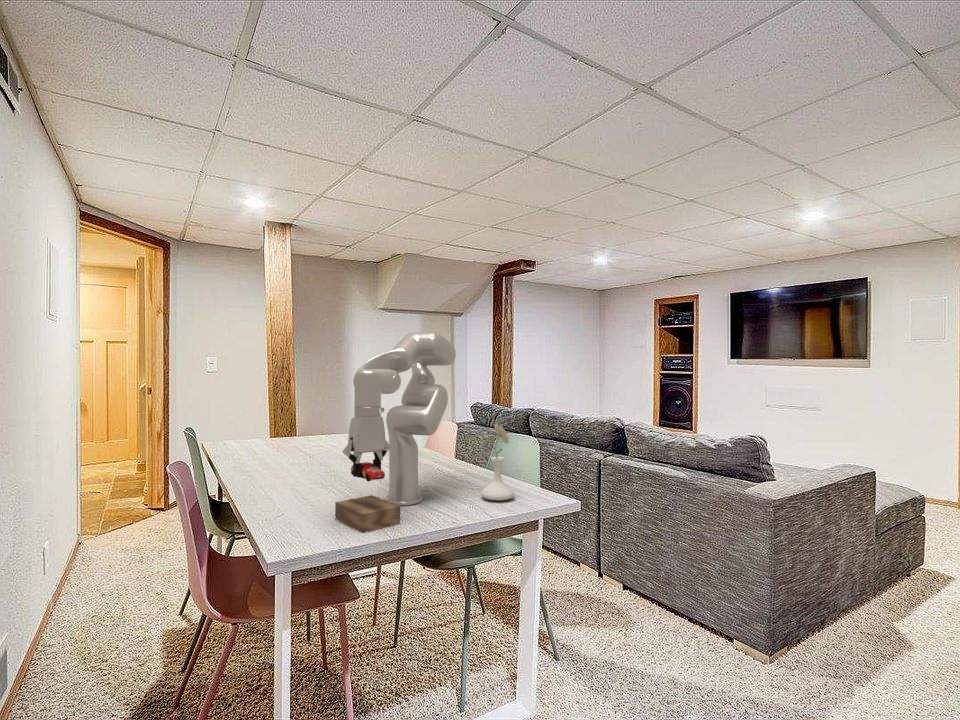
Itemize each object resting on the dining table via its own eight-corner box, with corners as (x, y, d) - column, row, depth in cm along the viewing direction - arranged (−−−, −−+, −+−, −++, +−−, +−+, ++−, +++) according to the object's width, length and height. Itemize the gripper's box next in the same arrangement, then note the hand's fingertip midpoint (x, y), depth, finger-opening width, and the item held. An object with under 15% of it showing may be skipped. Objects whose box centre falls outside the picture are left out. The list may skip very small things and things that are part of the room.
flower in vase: (515, 503, 167) (515, 427, 167) (480, 503, 167) (481, 426, 167) (512, 493, 180) (513, 422, 180) (480, 493, 180) (480, 422, 180)
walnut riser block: (371, 511, 157) (371, 495, 157) (400, 523, 145) (400, 506, 145) (335, 519, 149) (335, 502, 149) (362, 532, 137) (362, 514, 137)
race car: (387, 480, 144) (388, 466, 144) (370, 483, 140) (370, 468, 140) (365, 472, 154) (365, 459, 154) (348, 475, 150) (348, 461, 150)
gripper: (386, 410, 156) (386, 469, 156) (334, 413, 145) (333, 477, 144) (399, 411, 150) (399, 473, 150) (346, 415, 139) (346, 482, 139)
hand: (367, 474), depth 147 cm, fingers closed on race car, 5 cm apart
